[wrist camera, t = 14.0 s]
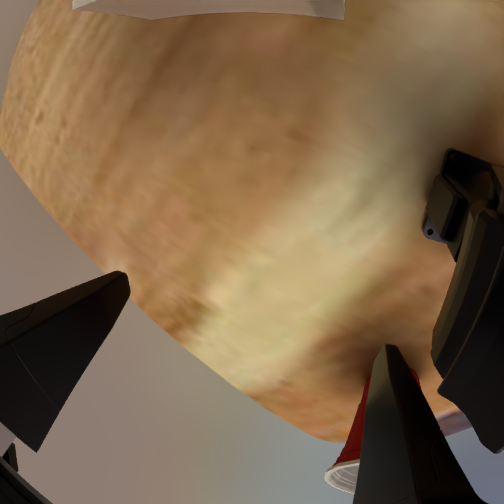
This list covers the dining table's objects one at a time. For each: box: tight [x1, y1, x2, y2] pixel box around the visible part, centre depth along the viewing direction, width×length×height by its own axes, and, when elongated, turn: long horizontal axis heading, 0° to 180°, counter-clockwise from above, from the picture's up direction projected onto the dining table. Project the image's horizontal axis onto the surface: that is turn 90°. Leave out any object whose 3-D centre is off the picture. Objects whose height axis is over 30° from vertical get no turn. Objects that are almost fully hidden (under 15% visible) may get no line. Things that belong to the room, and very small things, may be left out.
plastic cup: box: [324, 369, 422, 494], centre depth 22 cm, size 11×11×12 cm
